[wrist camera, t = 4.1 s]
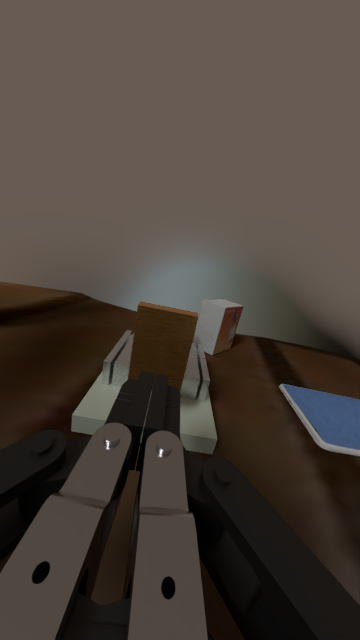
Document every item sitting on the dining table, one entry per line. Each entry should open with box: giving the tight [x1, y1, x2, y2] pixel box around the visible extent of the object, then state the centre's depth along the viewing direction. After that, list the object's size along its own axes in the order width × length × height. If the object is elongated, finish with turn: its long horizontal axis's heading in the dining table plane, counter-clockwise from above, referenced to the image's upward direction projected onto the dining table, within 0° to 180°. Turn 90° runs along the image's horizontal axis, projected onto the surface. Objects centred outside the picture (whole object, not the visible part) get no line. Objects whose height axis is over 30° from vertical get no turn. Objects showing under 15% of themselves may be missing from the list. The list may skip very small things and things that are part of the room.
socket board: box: [71, 335, 217, 454], centre depth 28 cm, size 20×14×8 cm
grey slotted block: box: [101, 330, 210, 402], centre depth 28 cm, size 10×12×3 cm
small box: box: [193, 299, 243, 356], centre depth 43 cm, size 8×6×10 cm
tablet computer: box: [279, 384, 360, 456], centre depth 29 cm, size 19×13×1 cm, turn 86°
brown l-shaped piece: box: [128, 302, 198, 392], centre depth 24 cm, size 13×5×8 cm, turn 179°
